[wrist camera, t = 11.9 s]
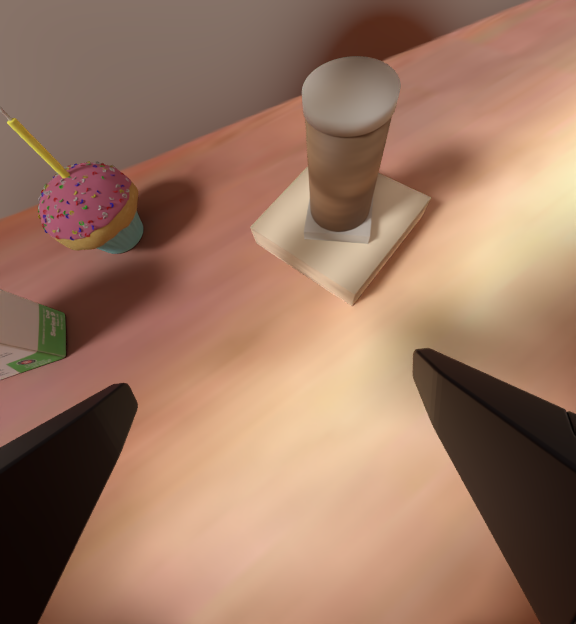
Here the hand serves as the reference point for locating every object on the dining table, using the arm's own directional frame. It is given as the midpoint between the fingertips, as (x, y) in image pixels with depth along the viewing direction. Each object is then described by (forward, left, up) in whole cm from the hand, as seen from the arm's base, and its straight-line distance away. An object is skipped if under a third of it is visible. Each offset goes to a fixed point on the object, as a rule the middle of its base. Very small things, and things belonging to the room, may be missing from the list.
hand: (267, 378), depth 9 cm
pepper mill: (+7, -14, -11) cm, 19 cm away
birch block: (+7, -14, -14) cm, 21 cm away
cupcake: (+25, -1, -14) cm, 29 cm away
